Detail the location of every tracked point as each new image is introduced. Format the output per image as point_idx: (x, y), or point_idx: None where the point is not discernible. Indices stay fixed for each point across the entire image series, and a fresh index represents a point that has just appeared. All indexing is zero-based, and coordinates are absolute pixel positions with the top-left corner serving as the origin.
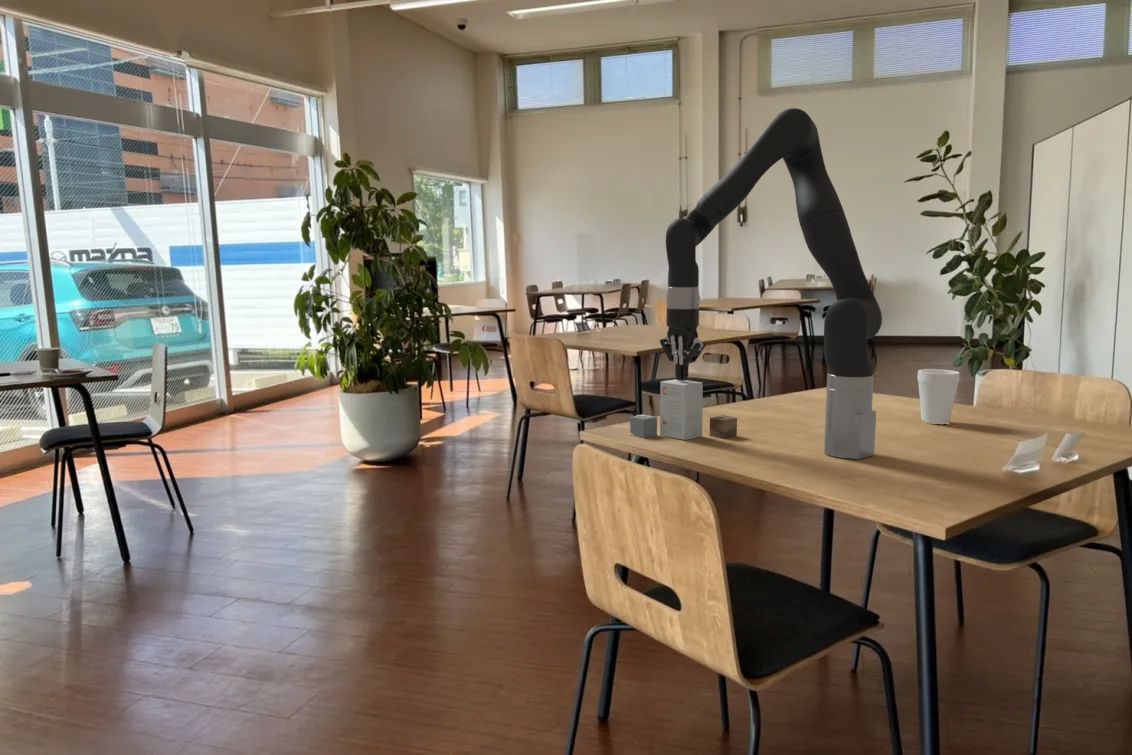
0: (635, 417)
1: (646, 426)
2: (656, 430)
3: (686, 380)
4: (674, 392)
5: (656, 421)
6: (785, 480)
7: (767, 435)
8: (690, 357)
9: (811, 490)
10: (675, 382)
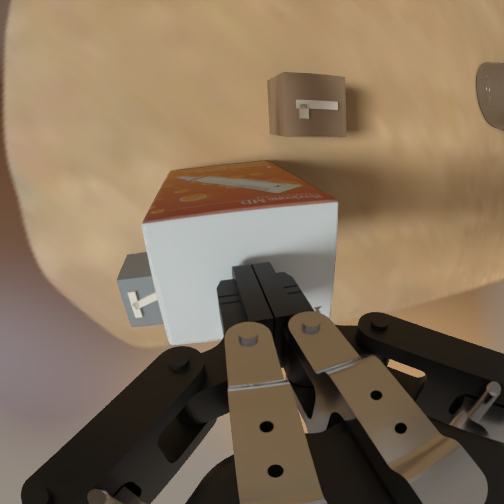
0: (146, 322)
1: None
2: None
3: (219, 220)
4: None
5: None
6: (482, 270)
7: (358, 29)
8: (403, 387)
9: (498, 273)
10: None
